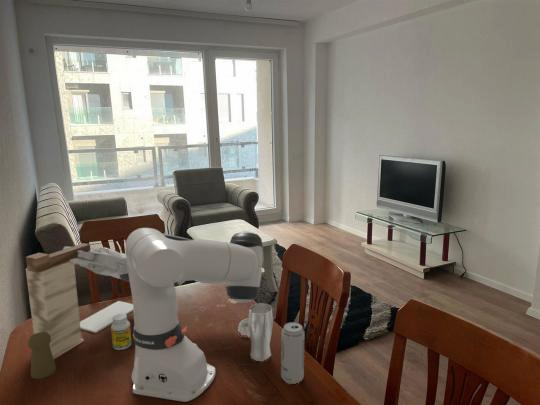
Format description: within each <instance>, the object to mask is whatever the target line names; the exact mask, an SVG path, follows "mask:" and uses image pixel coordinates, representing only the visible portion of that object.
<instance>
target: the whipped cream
mask: <svg viewBox="0 0 540 405" xmlns="http://www.w3.org/2000/svg"><path fill="white" fill-rule="evenodd" d="M248 320H249V317H247V318H245V319H242V320H241V321H240V322H239V324H238V328H237V329H238V330H237V332H238V331H239V332H240V333H241V335H247V336H248V338H250V332H249V324H248Z"/></svg>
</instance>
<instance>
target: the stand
mask: <svg viewBox="0 0 540 405" xmlns="http://www.w3.org/2000/svg"><path fill="white" fill-rule="evenodd" d="M25 275H26V282H27V290H28V298H29V306H30V313H31V322H32V331H33V335H34V334H36V333H39V332H47V333H48V334H49V335H50V336H51V342H50V344H49V345H50V349H51V352H52V356H53V359H54V360H55V359H57V358H58V357H60V356H62V355H63V354H65V353H67V352H68V351H70V350H72V349H73V348H75V347H76V346H78V345H80V344H81V343H83V342H84V338H82V331H81V330H82V329H81V328H80V321H81V320H80V319H81V318H80V309H79V299H78V291H77V279H76V271H75V262H74V261H66V262H63V263H60V264H58V265H55V266H52V267H50V268H49V269H46V270H43V271H41V272H38V273H36V272H32V271H28V270H27V268H25Z"/></svg>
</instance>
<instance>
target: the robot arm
mask: <svg viewBox="0 0 540 405" xmlns="http://www.w3.org/2000/svg"><path fill="white" fill-rule="evenodd" d="M262 240H263V239H262V238H261V237H260V235H258V234H257V233H254V232H252V231H245V230H244V231H241V232H240V231H239V232H237V233H234V234H233V235H232V236H231V238H230V241H229V242H226V241H219V240H211V239H203V238H196V239H191V238H186V237H182V236H178V235H172V234H167V233H164V232H163V233H162V232H161V231H159V230H158V229H157V228H156V229H155V228H151V227H141V228H140V227H139V228H137V229H134V230H133V231H132V232H131V233H130V234H129V235H128V237H127V238H126V241H125V253H123V252H119V251H118V250H113V249H112V248H108V247H105V246H103V247H95V248H93V247H92V248H91V247H90V251H88V252H84V251H79V250H78V251H77V253H76V256H78V257H77V258H74V259H71V260H69V261H74V264H78V265H79V266H80V267H82V268H85V269H88V270H90V271H91V272H93V273H94V274H97V275H101V276H102V275H103V276H106V277H109V276H111V277H113V278H116V279H121V280H122V281H123V282H128V283H129V287H130V291H131V293H130V294H131V297H132V304H133V311H132V312H133V321H134V322H133V324H134V326H133V327H132V337H133V342H134V345H135V346H134V347H135V349H134V362H133V369H132V373H131V381H132V383H133V386H132V393H133V394H135V395H140V396H146V397H153V398H160V399H165V400H170V401H171V400H172V401H178V402H189V401H192V400H194V399H196V398H198V397H199V396H200V395H201V394H202V393H204V391H206V390H207V388H209V387H210V385H211V384H212V383H213V381H214V379H215V377H216V372H217V371H216V368H215V366H213V365H211V364H209V363H207V359H206V358H207V357H206V356H205V353H204V352H203V350H201V349H200V348H199V347H198V344H197V343H193V342H192V341H191V339H189V338H188V337H187V336H186V335H185V332H187V331H188V329H187V327H188V326H187V325H186V326H184V328H183V327H182V325H181V322H180V320H179V317H178V316H179V314H178V295H177V291H176V286H175V283H181V282H186V281H195V282H196V283H200V284H207V285H208V284H209V285H221V284H222V285H223V284H226V286H225V287H224V288H225V290H226V294H227V297H229V299H231V300H233V301H235V302H237V303H249V302H252V301H254V300H256V299H257V298H258V297H259V294H260V291H261V287H260V285H261V280H262V271H263V270H262V268H263V250H262V248H263V241H262ZM70 247H71V246H63V248H62V250H64V249H67V248H70Z"/></svg>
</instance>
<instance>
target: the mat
mask: <svg viewBox="0 0 540 405" xmlns="http://www.w3.org/2000/svg"><path fill="white" fill-rule="evenodd" d="M132 312H134V311H133V303H129V302H126V301H121V300H118V301H116V302H114V303H111V304H110V305H108V306H107V307H106V306H105V308H103V309H101V310H99V311H97V312H95V313H94V314H92V315H90V316H87V317H86V318H85V319H82V320H80V328H81V330H83V331H86V332H90V333H94V334H98V333H99V332H100V331H102V330H103V329H105V328H107V327H109V326H110V325H112V324H113V317H114V316H115V315H117V314H126V315H127V316H128V315H129V314H131V313H132Z"/></svg>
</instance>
